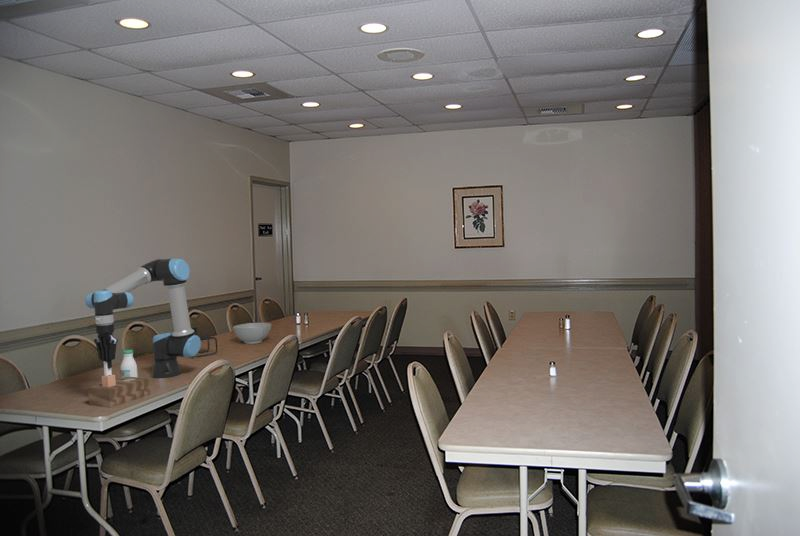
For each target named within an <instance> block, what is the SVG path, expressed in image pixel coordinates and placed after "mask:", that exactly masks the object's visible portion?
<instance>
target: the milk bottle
mask: <svg viewBox="0 0 800 536" xmlns="http://www.w3.org/2000/svg"><path fill="white" fill-rule="evenodd" d="M122 354H123V355H122V356H123V358H122V361H121V363H120V367H119V369H120V379H121V378H125V377H138V366H137V362H136V360H135V358H134V356H133V355H134V350H133V349H125V350H123V351H122Z"/></svg>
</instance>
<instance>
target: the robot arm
mask: <svg viewBox="0 0 800 536" xmlns="http://www.w3.org/2000/svg"><path fill="white" fill-rule="evenodd" d="M190 271H191V270H190V267H189V264H188V263H187V261H185V260H184V259H182V258H175V257H174V258H159V259H154V260H151V261H149V262H147V263H145V264H142V265H141V266H139V267H138V268H136V269H135V271H134V272H132V273H131V274H129V275H127V276H125V277H123V278H122V279H120V280H118V281H117V282H114V283H113V284H111V285H109V286H107V287H105V288H104V289H102V290H96V291H94V292H91V293H89V294H87V295H86V297H85V305H86V306H87V308H89V309H92V310H93V309H94V317H95V319H94V320H95V324H96V325H95V334H97V338H94V339H93V341H94V343H95V346H96V351H97V356H98V359H99V360H101V361H102V364H103V365H102V366H103V372H104V373H103V376H108V375H113V373H112V366H113V364H112V361H113V360H115V359H116V353H117V352H116V351H117V343H118V339H117V338H114V332H115V323H114V322H115V319H114V310H121V309H127V308H130V307H132V306H133V304H134V302H135V301H134V300H135V299H134V295H133V294H132V293H131V292H132V291H134V290H136V289H138V288H139V287H141V286H143V285H148V284H150V283H153V282H160V281H161V282H162V283H163V286H164V287H165V288H166V290H167V293H168V301H169V306H170V314H171V318H172V326H173V331H171V332H164V333H160V334H156V335H154V336H153V338H152V350H153V366H152V370H151V377H152V378H156V379H157V378H158V379H161V378H162V379H163V378H171V377H175V376H179V375H181V374H182V369H181V367H180V365H179V362H178V360H177V359H178V358H177V357H179V358H180V357H182V358H190V357H192V356H197V355H198V354H197V353H198V352H200V349H201V346H202V340H200V338H199V337H198V336H199V335H198V334H197V335H195V332H194V330H193V329H191V328H192V327H191V326H192V325H190V324H191V321H190V314H189V307H188V303H187V301H188V300H187V295H186V287H185V285H186V284H187V279H189V278H190V274H191V272H190Z"/></svg>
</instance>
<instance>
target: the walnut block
mask: <svg viewBox="0 0 800 536" xmlns="http://www.w3.org/2000/svg"><path fill="white" fill-rule="evenodd" d="M126 379H135V380H132V381H129V382H127V381H123V380H126ZM115 380H116V385H115V386H111V387H102V383H100V384H97V385H94V386H89V387H87V391H88V392H87V393H88V405H89V406H95V407H104V408H109V409H110V408H113V407H117V406H120V405H122V404H125V403H129V402H132V401H136V400H138V399H142V398H144V397H147V396H151V395H150V394H151V392H150V391H151V390H150V379H149V377H125V378H121V377H120V378H117V379H115Z"/></svg>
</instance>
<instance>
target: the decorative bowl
mask: <svg viewBox="0 0 800 536" xmlns="http://www.w3.org/2000/svg"><path fill="white" fill-rule="evenodd" d="M232 329H233V332H234V335H236V337H237V338H238V339H239V340H241V341H243V343H244V344H247V345H248V344H250V345H252V344H259V343H262V342H263V340H264V339H266V338H267V336H268V335H269V333H270V332H271V329H272V323H270V322H247V323H241V324H237V325H234V326H233V327H232Z"/></svg>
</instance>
